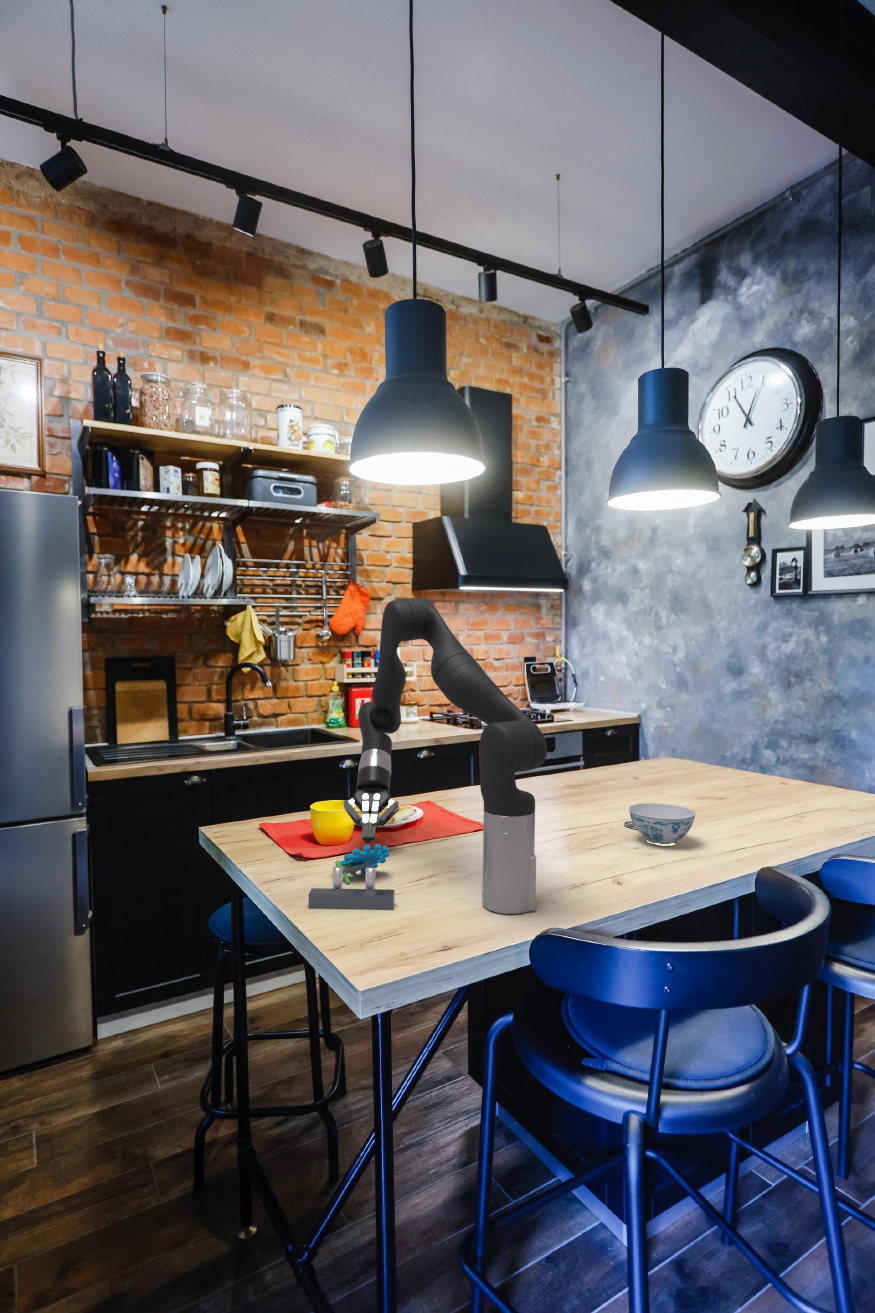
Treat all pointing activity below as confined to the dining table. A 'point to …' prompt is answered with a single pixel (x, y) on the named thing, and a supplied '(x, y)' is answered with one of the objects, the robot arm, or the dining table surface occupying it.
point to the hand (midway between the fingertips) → (368, 841)
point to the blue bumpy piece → (363, 859)
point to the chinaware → (661, 821)
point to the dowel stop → (352, 894)
